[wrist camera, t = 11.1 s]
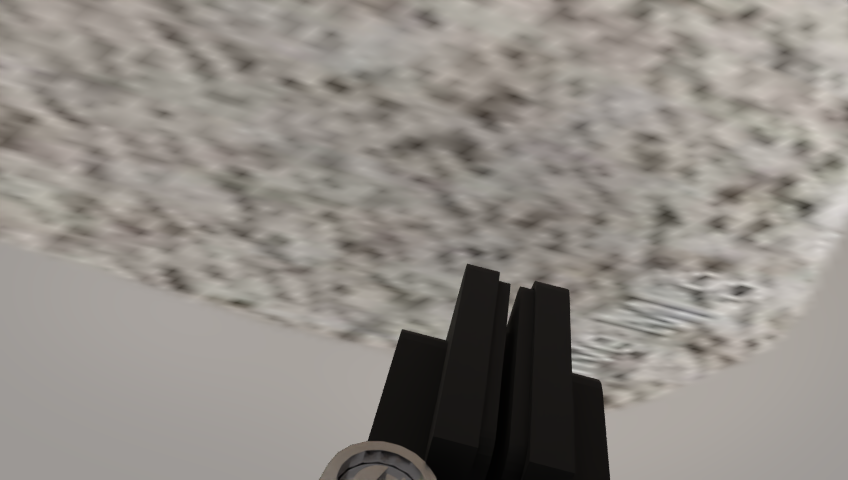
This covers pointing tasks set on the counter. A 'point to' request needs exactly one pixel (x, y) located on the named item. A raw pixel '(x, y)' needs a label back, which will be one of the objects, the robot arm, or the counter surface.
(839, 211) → the counter surface
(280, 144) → the counter surface
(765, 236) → the counter surface
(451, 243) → the counter surface
